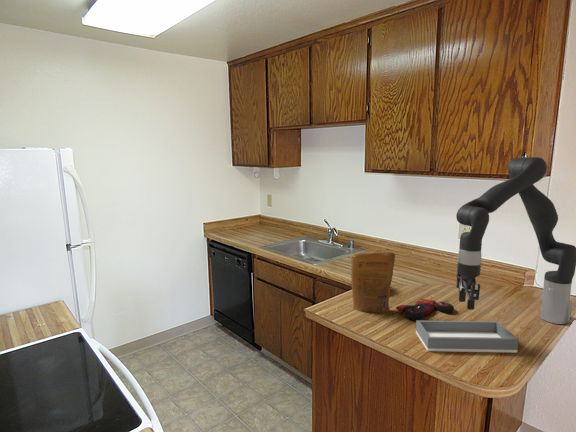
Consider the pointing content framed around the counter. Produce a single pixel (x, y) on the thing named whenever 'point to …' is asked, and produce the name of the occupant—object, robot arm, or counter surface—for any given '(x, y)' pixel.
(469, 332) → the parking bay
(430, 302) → the toy motorcycle
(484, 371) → the counter surface
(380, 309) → the pancake mix bag
